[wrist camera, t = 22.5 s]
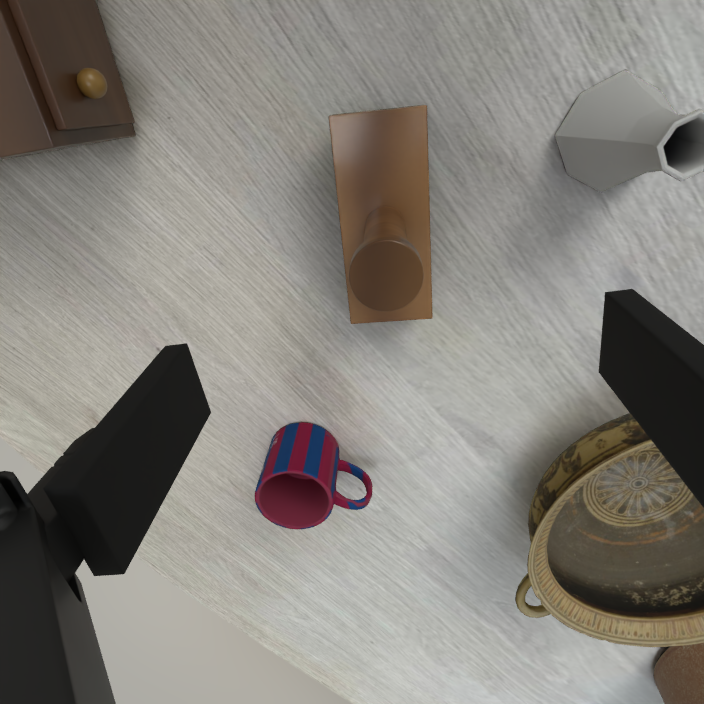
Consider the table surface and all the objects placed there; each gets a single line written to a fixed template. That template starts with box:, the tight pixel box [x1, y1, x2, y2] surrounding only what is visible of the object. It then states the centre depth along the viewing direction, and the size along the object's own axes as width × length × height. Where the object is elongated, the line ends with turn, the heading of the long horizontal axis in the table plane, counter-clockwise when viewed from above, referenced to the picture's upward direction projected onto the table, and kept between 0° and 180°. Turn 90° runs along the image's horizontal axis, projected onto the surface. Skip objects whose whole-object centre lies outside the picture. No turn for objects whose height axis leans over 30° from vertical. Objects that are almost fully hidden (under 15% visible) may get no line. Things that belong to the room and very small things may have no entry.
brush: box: [329, 105, 432, 324], centre depth 30 cm, size 6×14×15 cm, turn 6°
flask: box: [555, 70, 704, 192], centre depth 29 cm, size 7×7×10 cm
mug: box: [255, 422, 372, 529], centre depth 45 cm, size 7×10×7 cm
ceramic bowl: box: [515, 413, 704, 647], centre depth 42 cm, size 30×24×10 cm
